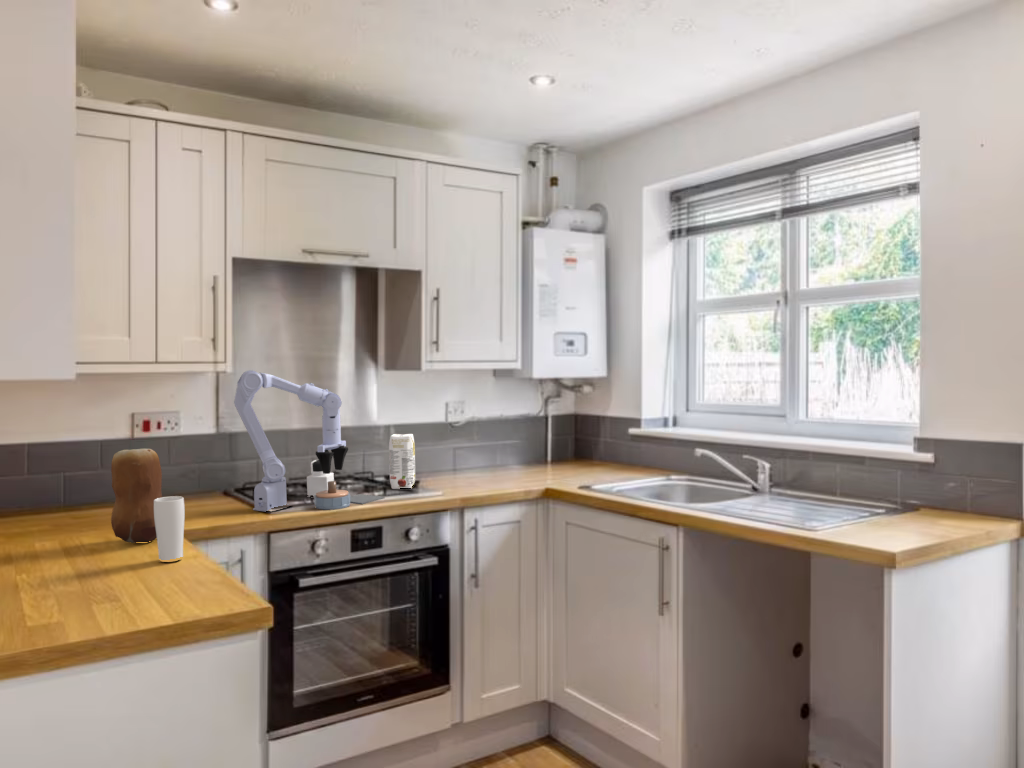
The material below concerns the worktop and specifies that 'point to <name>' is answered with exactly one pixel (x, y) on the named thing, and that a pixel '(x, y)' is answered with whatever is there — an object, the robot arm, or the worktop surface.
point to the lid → (332, 491)
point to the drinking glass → (169, 526)
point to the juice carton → (402, 461)
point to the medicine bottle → (318, 479)
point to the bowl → (332, 502)
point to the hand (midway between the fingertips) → (332, 471)
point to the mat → (364, 498)
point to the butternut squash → (135, 494)
